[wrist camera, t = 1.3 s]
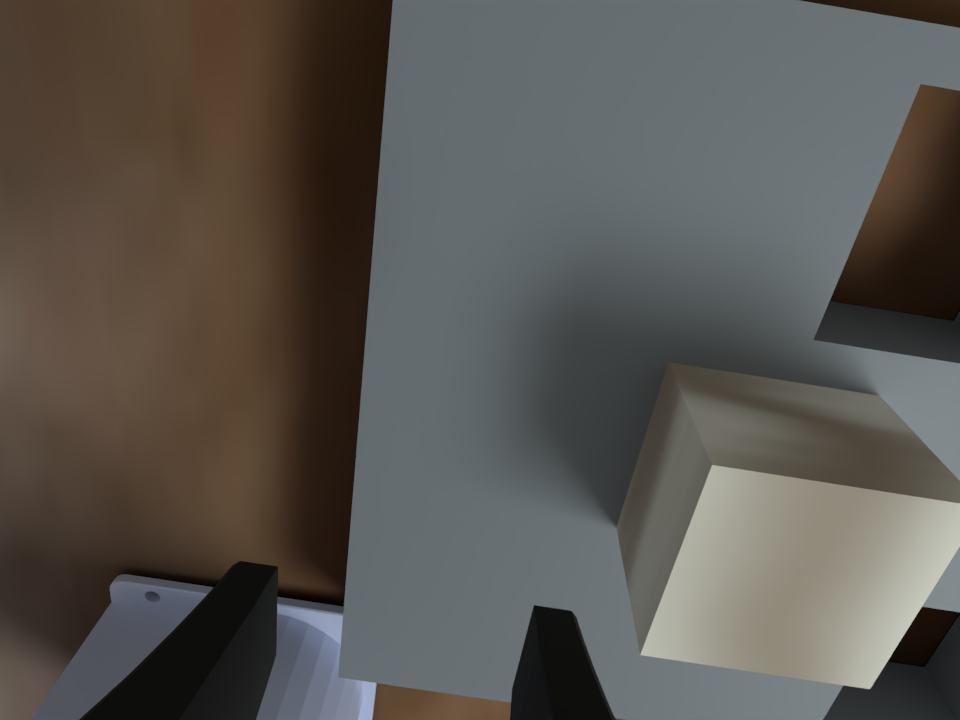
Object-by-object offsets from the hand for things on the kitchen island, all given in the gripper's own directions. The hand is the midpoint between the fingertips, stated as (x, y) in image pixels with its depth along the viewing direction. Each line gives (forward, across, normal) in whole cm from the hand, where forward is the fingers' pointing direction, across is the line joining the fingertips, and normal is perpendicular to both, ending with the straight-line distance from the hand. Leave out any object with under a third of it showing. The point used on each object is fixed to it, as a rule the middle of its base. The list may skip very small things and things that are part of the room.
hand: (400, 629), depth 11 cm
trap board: (+9, -12, 0) cm, 15 cm away
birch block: (+6, -8, 0) cm, 10 cm away
